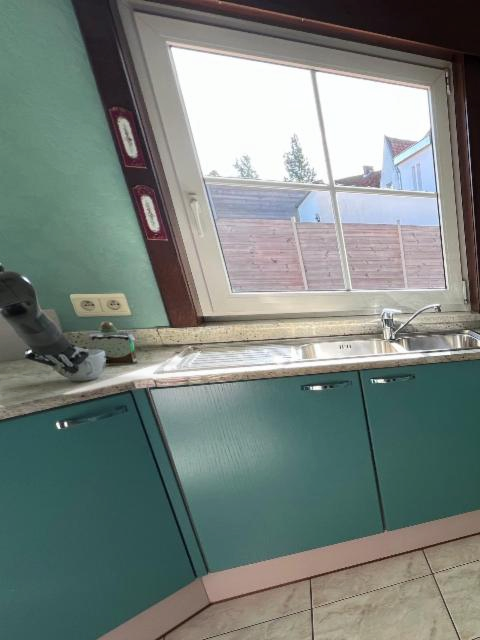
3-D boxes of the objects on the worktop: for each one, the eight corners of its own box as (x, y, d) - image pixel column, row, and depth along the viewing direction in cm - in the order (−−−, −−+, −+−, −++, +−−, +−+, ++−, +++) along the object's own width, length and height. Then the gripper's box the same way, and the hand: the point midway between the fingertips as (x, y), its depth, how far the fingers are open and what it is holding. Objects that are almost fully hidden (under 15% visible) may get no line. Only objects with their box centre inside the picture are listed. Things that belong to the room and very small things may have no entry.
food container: (151, 360, 175) (142, 332, 171) (139, 364, 169) (129, 334, 165) (111, 360, 173) (101, 331, 169) (97, 364, 167) (87, 334, 163)
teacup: (47, 380, 146) (37, 353, 143) (102, 372, 156) (93, 347, 153) (68, 387, 139) (57, 359, 137) (124, 379, 150) (115, 353, 147)
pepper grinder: (113, 357, 178) (102, 322, 173) (105, 356, 179) (93, 321, 174) (129, 355, 182) (118, 321, 177) (120, 354, 183) (109, 320, 179)
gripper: (75, 321, 131) (104, 358, 146) (4, 322, 125) (41, 361, 139) (76, 344, 129) (105, 379, 143) (3, 346, 123) (41, 383, 137)
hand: (73, 370), depth 141 cm, fingers closed
